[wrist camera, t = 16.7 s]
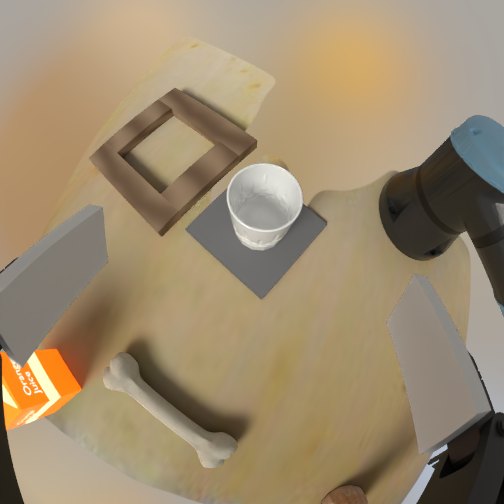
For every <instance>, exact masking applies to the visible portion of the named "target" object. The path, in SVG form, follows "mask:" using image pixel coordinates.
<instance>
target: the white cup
mask: <svg viewBox="0 0 504 504" xmlns="http://www.w3.org/2000/svg"><path fill="white" fill-rule="evenodd" d="M227 203H228V208H229V212H230V217H231V221H232V224H233V227H234V230H235V233H236V236H237V237H238V239H239V240H240V242H241V243H242V244H243V245H245V246H247V247H248V248H250V249H252V250H262V251H264V250H267V249H269V248H272V247H274V246H275V245H276V244H277V243H278V242H279V241H280V240H281V239H282V238H283V237H284V236H285V234H286V233H287V232H288V230H289V229H290V227H291V226H292V224H293V223H294V221H295V220H296V218H297V217H298V215H299V214H300V212H301V209H302V205H303V193H302V189H301V187H300V184H299V182H298V181H297V179H296V178H295V177H294V176H293V175H292V174H291V173H290V172H289V171H287V170H286V169H284V168H282V167H280V166H277V165H274V164H269V163H258V164H253V165H250V166H247V167H245V168H243V169H242V170H240V171H239V172H238V173H237V174H236V175H235V176H234V177H233V178H232V180H231V181H230V183H229V186H228V189H227Z"/></svg>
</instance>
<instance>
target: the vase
mask: <svg viewBox="0 0 504 504" xmlns="http://www.w3.org/2000/svg"><path fill="white" fill-rule="evenodd" d="M321 504H368V501H367V498H366V496H365V494H364V493H363V491H362V489H361V488H360V487H357V486H353V485H347V486H343V487H339V488H337V489H335V490H334V491H332V492H330V493H329V494H328V495H327V496H326V497H325V498H324V499H323V500H322V501H321Z"/></svg>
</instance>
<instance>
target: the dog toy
mask: <svg viewBox="0 0 504 504" xmlns="http://www.w3.org/2000/svg"><path fill="white" fill-rule="evenodd" d="M103 380H104V385H105V387H107V388H109V389H112V390H115V391H123V392H125V393H127V394H128V395H130V396H131V397H133V398H134V399H135V400H136V401H138V402H139V403H140V404H141V405H142V406H143V407H144V408H146V409H147V410H148V411H149V412H150V413H151V414H153V415H154V416H155V417H156V418H157V419H159V420H160V421H161V422H162V423H164V424H165V425H166V426H167V427H169V428H170V429H171V430H173V431H174V432H175V433H176V434H178V435H179V436H181V437H182V438H183V439H184V440H186V441H187V442H188V443H189V444H191V445H192V446H193V447H194V448H195V449H196V451H197V453H198V457H199V459H200V461H201V463H202V465H203V466H204V467H206V468H213V467H218V466H220V465H222V464H223V463H224V459H226V458H229V457H231V455H232V453H233V452H235V451H236V450H237V442H236V440H235V439H234V438H233V437H231V436H230V435H228V434H227V433H224V432H218V433H212V432H208V431H206V430H204V429H203V428H201V427H200V426H198V425H197V424H196V423H194V422H193V421H192V420H190V419H189V418H188V417H186V416H185V415H184V414H182V413H181V412H180V411H179V410H177V409H176V408H175V407H174V406H172V405H171V404H170V403H169V402H167V401H166V400H165V399H164V398H163V397H161V396H160V395H159V394H158V393H157V392H156V391H154V390H153V389H152V388H151V387H150V386H149V385H148V384H147V383H146V382H144V381H143V379H142V378H141V376H140V373H139V365H138V363H137V361H136V360H135V359H134V358H133V357H132V356H130V355H129V354H127V353H124V352H119V353H118V354H117V355H116V356H115V358H114V359H112V360H111V361H110V366H109V367H106V369H105V370H104V373H103Z"/></svg>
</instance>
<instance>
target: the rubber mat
mask: <svg viewBox="0 0 504 504" xmlns="http://www.w3.org/2000/svg"><path fill="white" fill-rule="evenodd" d="M227 189H228V188H227ZM227 189H226V190H225V191H224V192H223V193H222V194H221V195H220V196H219V197H217V198H216V199H215V200H214V201H213V202H212V203H211V204H210V205H209V206H208V207H207V208H206V209H205V210H204V211H203V212H202V213H201V214H200V215H199V216H198V217H197V218H196V219H195V220H194V221H193V222H192V223H191V224H190V225H189V226H188V227H187V228H186V231H187V232H188V233H189V234H190V235H191V236H193V237H194V238H195V239H196V240H197V241H198V242H199V243H200V244H201V245H202V246H203V247H204V248H205V249H206V250H208V251H209V252H210V253H211V254H212V255H213V256H214V257H215V258H216V259H217V260H218V261H219V262H221V263H222V264H223V265H224V266H225V267H226V268H227V269H228V270H229V271H230V272H231V273H233V274H234V275H235V276H236V277H237V278H238V279H239V280H240V281H241V282H243V283H244V284H245V285H246V286H247V287H248V288H249V289H250V290H251V291H253V292H254V293H255V294H256V295H257V296H258V297H259V298H260V299H262V298H263V297H264V296H265V295H266V294H267V293H268V292H269V290H270V289H271V288H272V287H273V286H274V285H275V284H276V283H277V281H278V280H279V279H280V278H281V277H282V276H283V275H284V274H285V272H286V271H287V270H288V269H289V268H290V267H291V266H292V264H293V263H294V262H295V261H296V260H297V259H298V257H299V256H300V255H301V254H302V253H303V252H304V250H305V249H306V248H307V247H308V246H309V245H310V243H311V242H312V241H313V240H314V239H315V238H316V236H317V235H318V234H319V233H320V232H321V230H322V229H323V228H324V227H325V226H326V223H325V222H324V221H323V220H322V219H321V218H319V217H318V216H317V215H316V214H315V213H314V212H312V211H311V210H310V209H309V208H308V207H306V206H305V205H304V204H303V205H302V209H301V212H300V214H299V215H298V217H297V218H296V220H295V221H294V223H293V224H292V226H291V227H290V229H289V230H288V232H287V233H286V234H285V236H284V237H283V238H282V239H281V240H280V241H279V242H278V243H277V244H276V245H275V246H274V247H272V248H269V249H267V250H264V251H262V250H252V249H250V248H248V247H247V246H245V245H243V244H242V243H241V242H240V240H239V239H238V237H237V236H236V233H235V230H234V227H233V224H232V221H231V217H230V212H229V208H228V203H227Z"/></svg>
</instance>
